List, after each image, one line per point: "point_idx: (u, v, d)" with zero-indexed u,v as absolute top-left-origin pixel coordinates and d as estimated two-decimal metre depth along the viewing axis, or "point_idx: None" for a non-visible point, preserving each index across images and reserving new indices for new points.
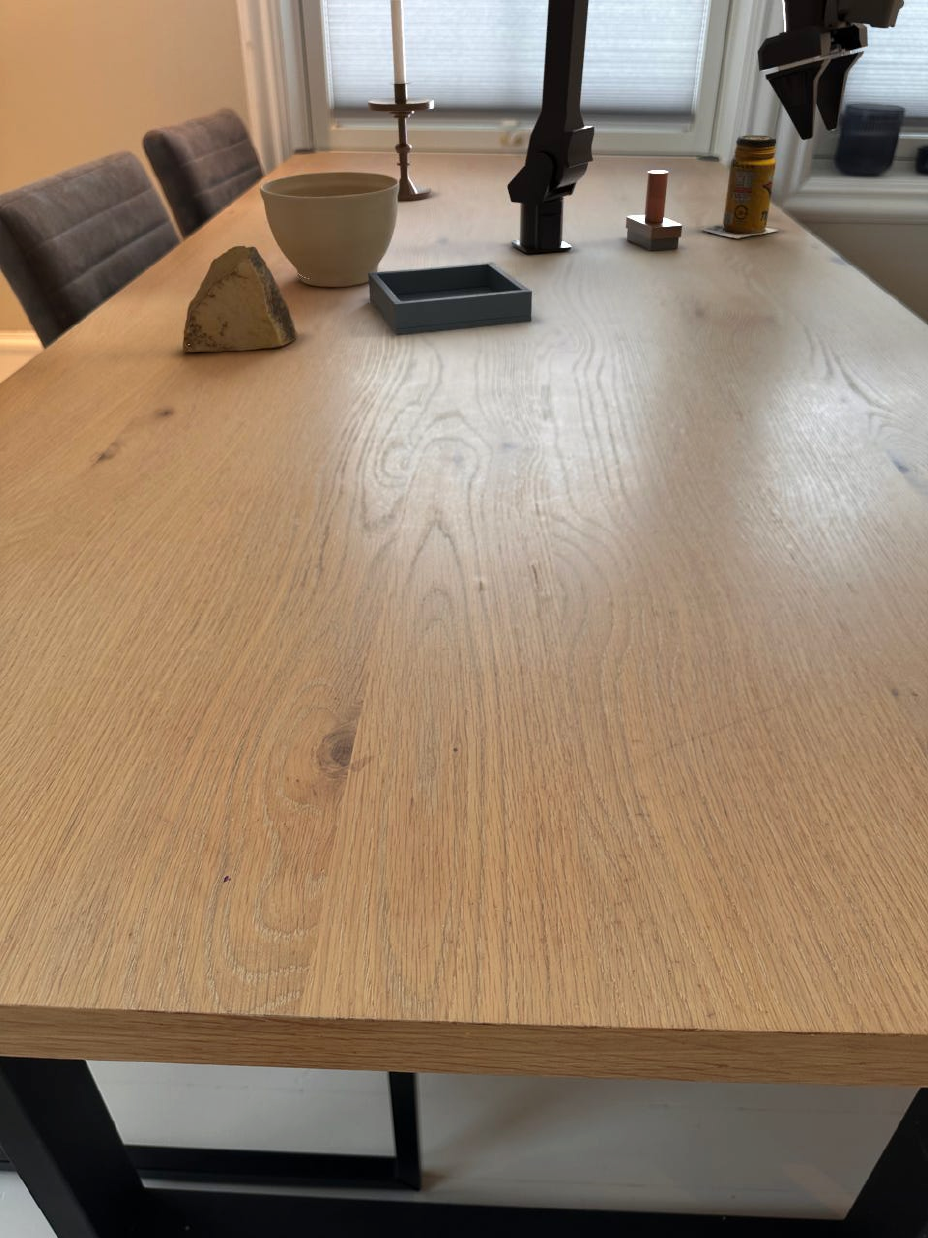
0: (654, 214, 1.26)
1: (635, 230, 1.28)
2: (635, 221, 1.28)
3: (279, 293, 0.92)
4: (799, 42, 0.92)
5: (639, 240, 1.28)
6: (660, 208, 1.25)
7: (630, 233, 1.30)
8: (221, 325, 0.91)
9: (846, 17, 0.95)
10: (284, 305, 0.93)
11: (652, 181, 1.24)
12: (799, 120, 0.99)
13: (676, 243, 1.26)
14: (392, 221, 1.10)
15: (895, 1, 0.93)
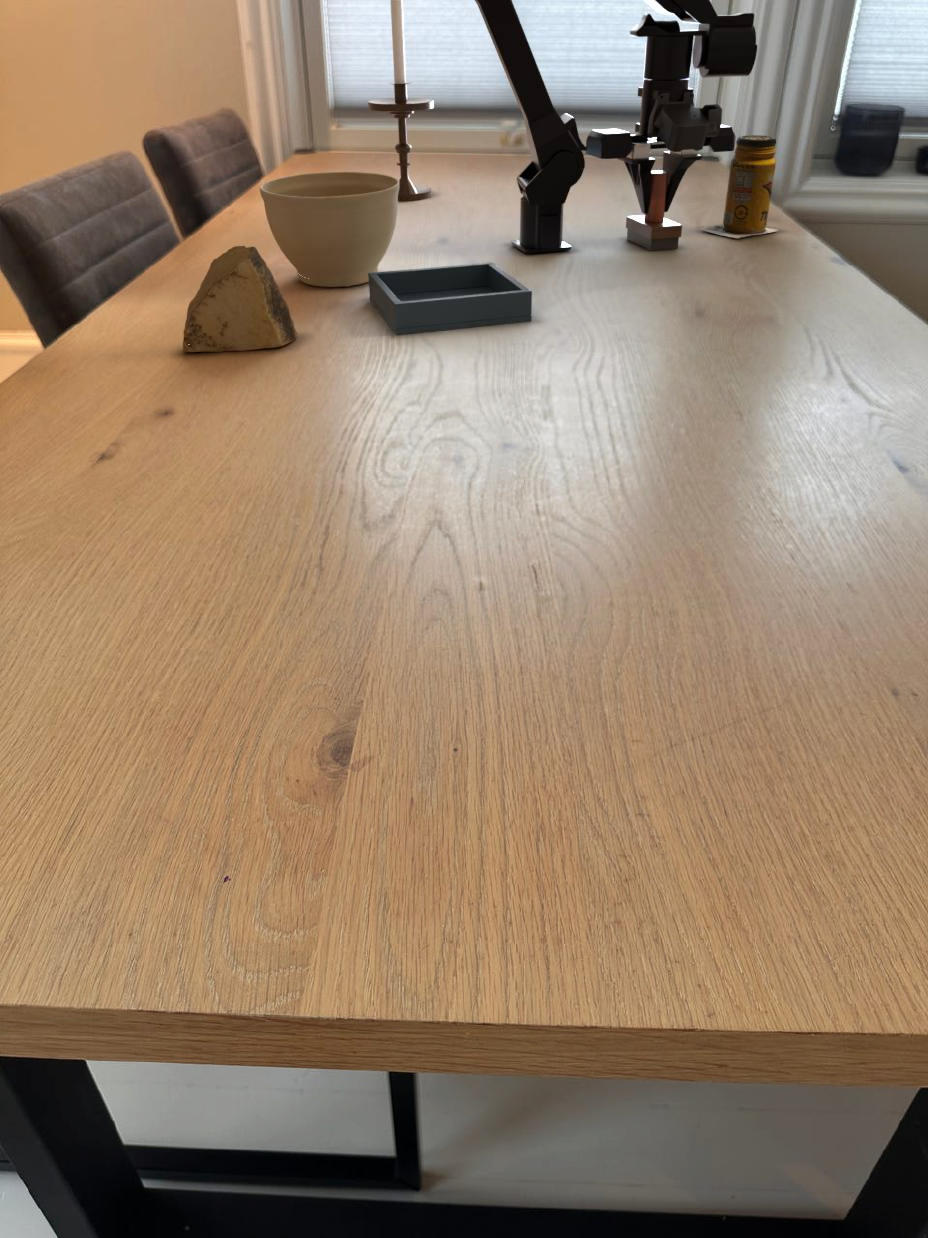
0: (654, 214, 1.26)
1: (635, 230, 1.28)
2: (635, 221, 1.28)
3: (279, 293, 0.92)
4: (597, 143, 1.19)
5: (639, 240, 1.28)
6: (660, 208, 1.25)
7: (630, 233, 1.30)
8: (221, 325, 0.91)
9: (658, 131, 1.17)
10: (284, 305, 0.93)
11: (652, 181, 1.24)
12: (639, 197, 1.25)
13: (676, 243, 1.26)
14: (392, 221, 1.10)
15: (683, 133, 1.14)
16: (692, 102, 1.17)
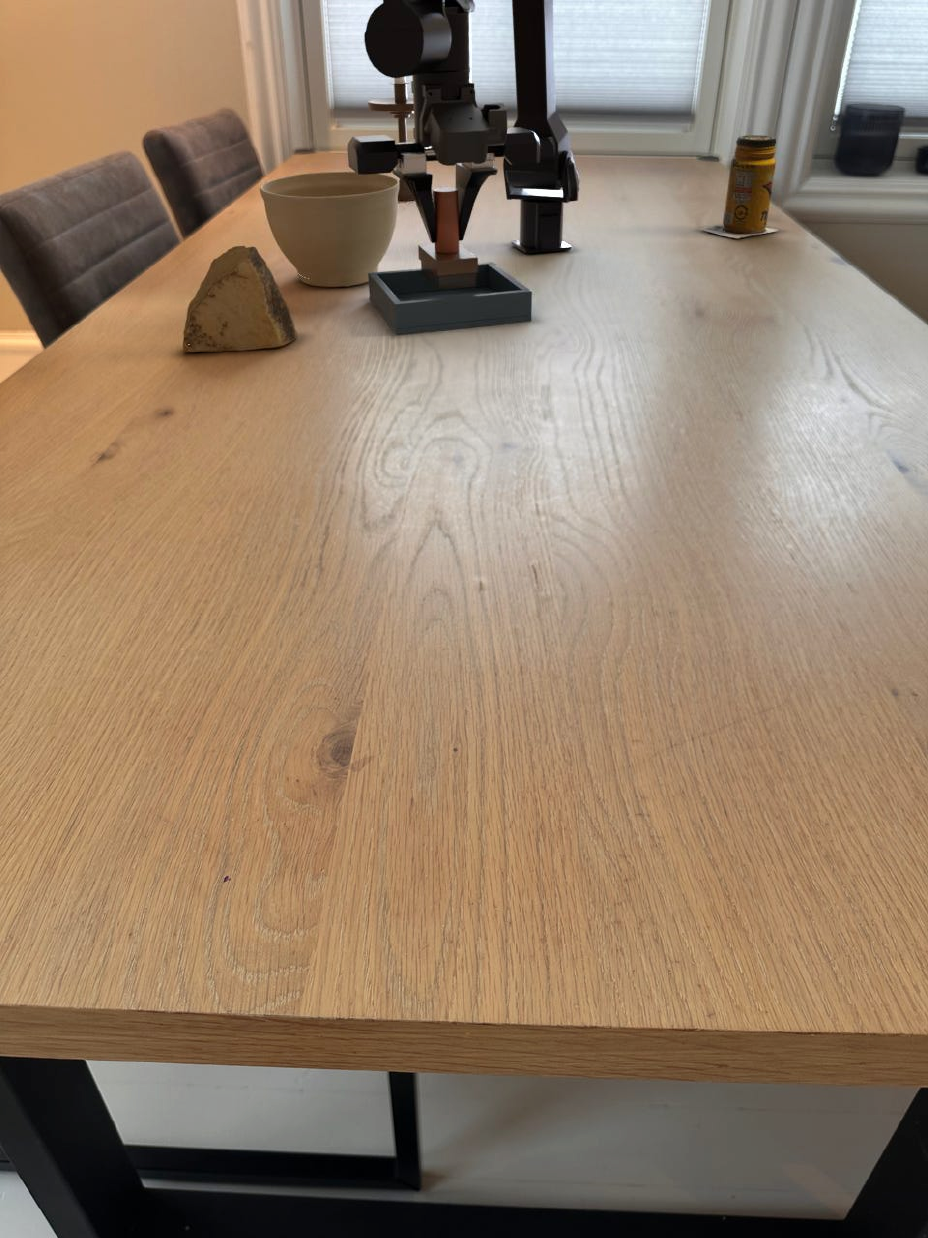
0: (444, 243, 0.98)
1: (425, 263, 1.01)
2: (424, 252, 1.00)
3: (279, 293, 0.92)
4: (354, 154, 0.91)
5: (430, 276, 1.01)
6: (451, 236, 0.98)
7: (423, 266, 1.03)
8: (221, 325, 0.91)
9: (430, 139, 0.90)
10: (284, 305, 0.93)
11: (437, 202, 0.96)
12: (424, 222, 0.98)
13: (473, 280, 0.98)
14: (392, 221, 1.10)
15: (453, 141, 0.87)
16: (474, 101, 0.90)
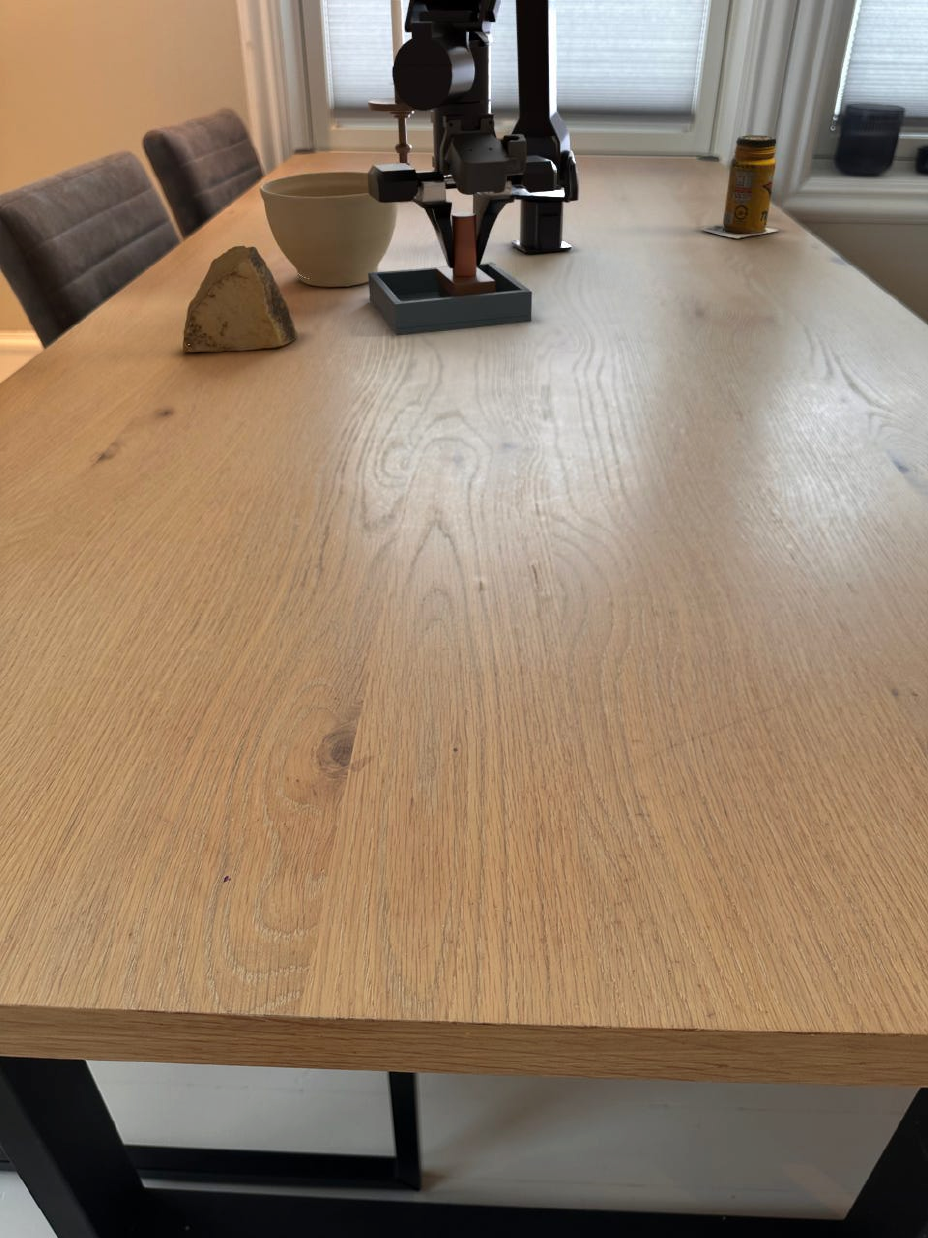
0: (462, 267, 1.00)
1: (443, 285, 1.02)
2: (442, 274, 1.02)
3: (279, 293, 0.92)
4: (375, 183, 0.93)
5: None
6: (469, 259, 1.00)
7: (440, 288, 1.04)
8: (221, 325, 0.91)
9: (450, 168, 0.92)
10: (284, 305, 0.93)
11: (455, 226, 0.98)
12: (442, 247, 1.00)
13: None
14: (392, 221, 1.10)
15: (474, 172, 0.89)
16: (493, 131, 0.92)
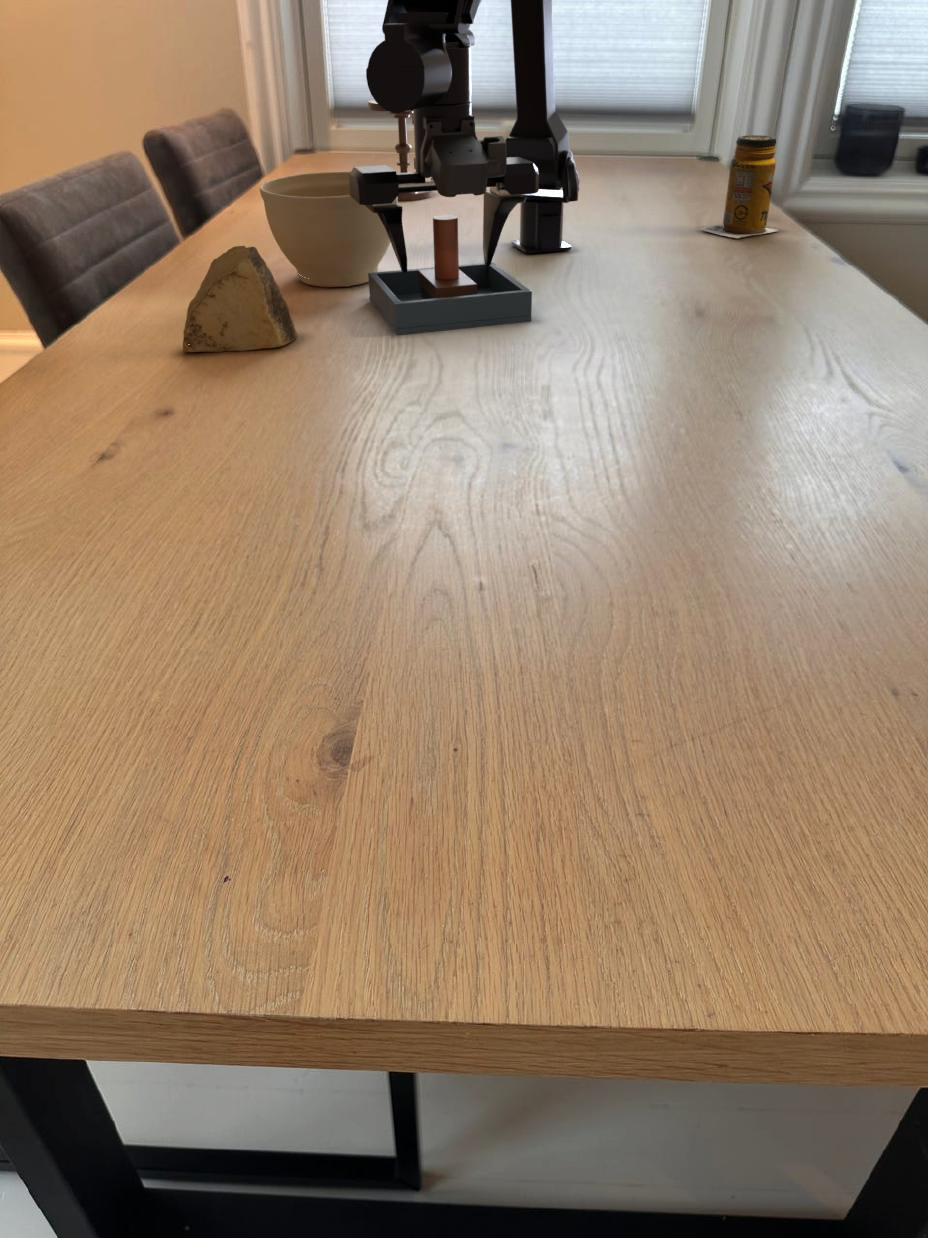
0: (444, 270, 1.00)
1: (425, 288, 1.02)
2: (424, 277, 1.02)
3: (279, 293, 0.92)
4: (356, 185, 0.93)
5: None
6: (451, 262, 0.99)
7: (423, 291, 1.04)
8: (221, 325, 0.91)
9: (430, 170, 0.92)
10: (284, 305, 0.93)
11: (437, 230, 0.98)
12: (395, 252, 0.99)
13: None
14: None
15: (454, 174, 0.88)
16: (474, 133, 0.92)
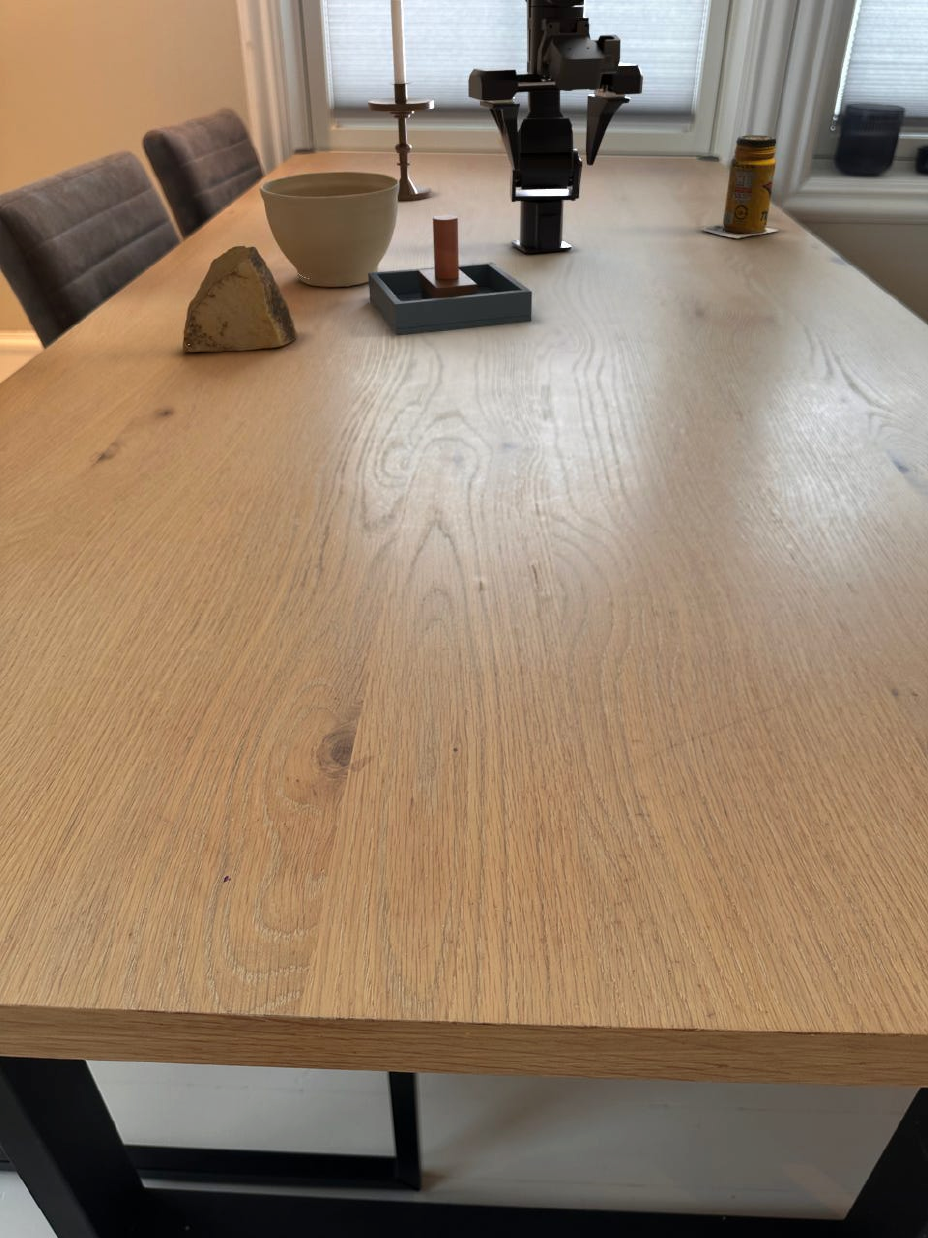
0: (444, 270, 1.00)
1: (425, 288, 1.02)
2: (424, 277, 1.02)
3: (279, 293, 0.92)
4: (478, 83, 1.01)
5: None
6: (451, 262, 0.99)
7: (423, 291, 1.04)
8: (221, 325, 0.91)
9: (548, 68, 1.00)
10: (284, 305, 0.93)
11: (437, 230, 0.98)
12: (507, 150, 1.07)
13: None
14: (392, 221, 1.10)
15: (573, 68, 0.96)
16: (588, 33, 1.00)
